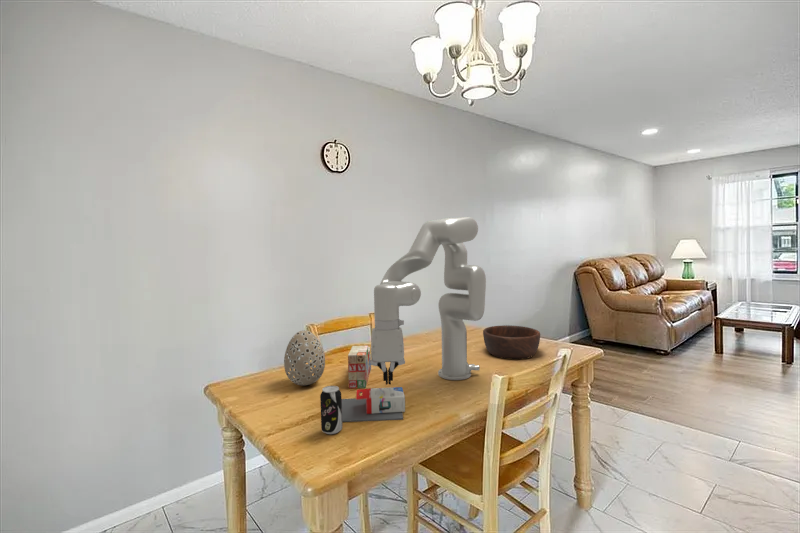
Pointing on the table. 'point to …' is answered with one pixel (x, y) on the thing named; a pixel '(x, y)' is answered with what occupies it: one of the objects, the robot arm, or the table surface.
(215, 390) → the table surface
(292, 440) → the table surface
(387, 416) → the mat
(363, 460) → the table surface
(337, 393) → the beverage can
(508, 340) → the wooden bowl
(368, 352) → the stack of blocks
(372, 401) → the ink box
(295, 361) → the ornament
